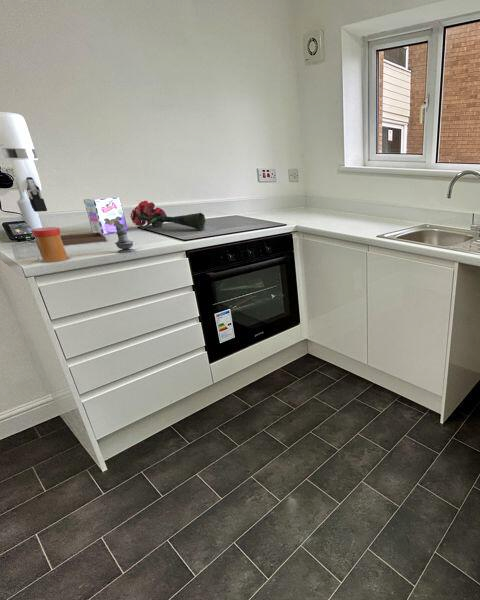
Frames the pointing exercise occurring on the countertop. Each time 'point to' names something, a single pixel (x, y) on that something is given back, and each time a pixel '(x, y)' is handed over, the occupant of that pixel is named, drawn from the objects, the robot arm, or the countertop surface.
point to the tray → (82, 238)
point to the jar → (51, 248)
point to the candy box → (105, 214)
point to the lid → (46, 231)
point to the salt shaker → (123, 239)
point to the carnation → (163, 217)
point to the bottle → (28, 210)
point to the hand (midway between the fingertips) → (39, 209)
